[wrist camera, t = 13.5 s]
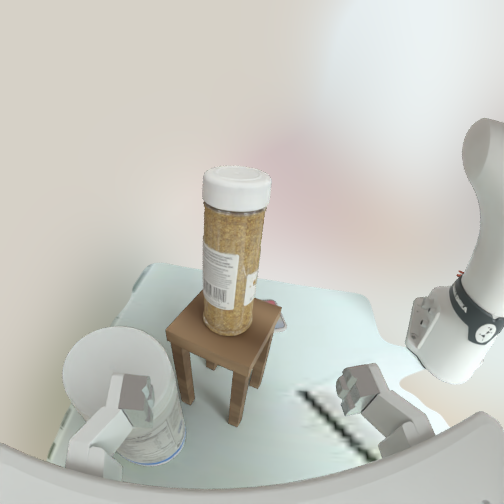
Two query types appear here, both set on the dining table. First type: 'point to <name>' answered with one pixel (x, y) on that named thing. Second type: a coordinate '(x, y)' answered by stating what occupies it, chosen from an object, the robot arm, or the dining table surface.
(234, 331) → the sprinkles bottle
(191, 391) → the stool
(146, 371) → the supplement tub
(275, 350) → the dining table surface
